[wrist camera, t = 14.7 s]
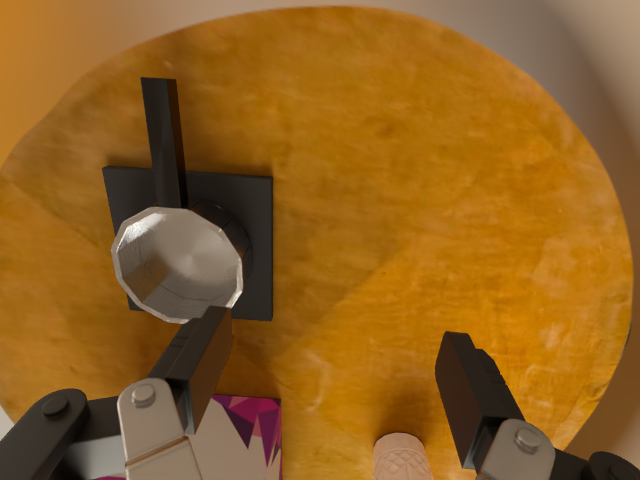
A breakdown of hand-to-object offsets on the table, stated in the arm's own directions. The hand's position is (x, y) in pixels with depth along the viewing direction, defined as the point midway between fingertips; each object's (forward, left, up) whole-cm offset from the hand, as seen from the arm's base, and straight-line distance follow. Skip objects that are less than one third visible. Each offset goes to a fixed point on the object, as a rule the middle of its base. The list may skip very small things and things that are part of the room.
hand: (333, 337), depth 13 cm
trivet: (+7, -14, -22) cm, 27 cm away
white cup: (+35, +11, -22) cm, 43 cm away
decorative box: (+37, -14, -22) cm, 46 cm away
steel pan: (+2, -14, -21) cm, 25 cm away
